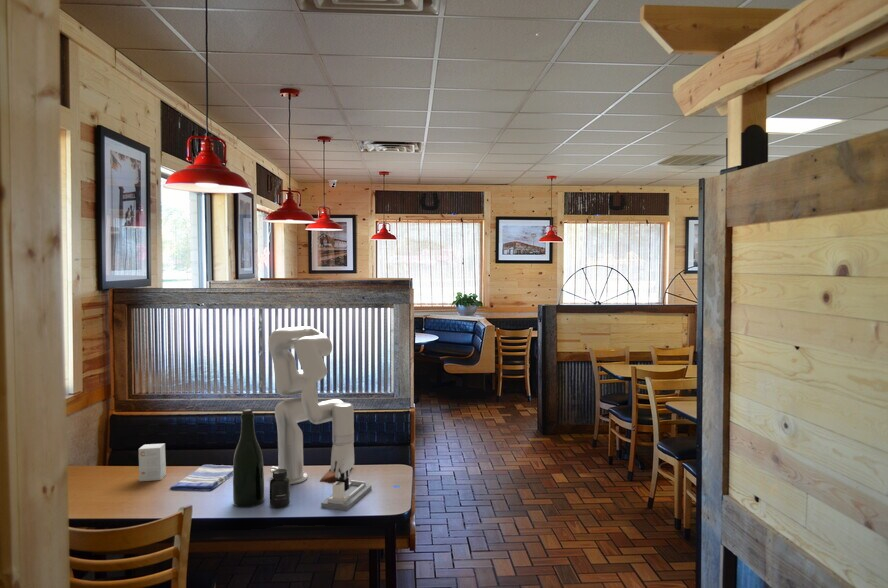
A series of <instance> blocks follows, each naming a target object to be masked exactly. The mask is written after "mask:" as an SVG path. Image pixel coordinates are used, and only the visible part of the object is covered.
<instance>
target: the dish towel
mask: <svg viewBox="0 0 888 588" xmlns="http://www.w3.org/2000/svg"><path fill="white" fill-rule="evenodd" d="M231 477H233V465H224V464H221V465H218V464H217V465H216V464H203V465H201V466H199V467H198V468H197V469H195V470H194V471H192V472H191V473H190V474H188V475H187V476H186V477H184V478H182V479H181V480H179V482H177V483H175V484H174V485H172V486H170V487H169V489H170V490H172V491H198V492H199V491H200V492H201V491H203V492H205V491H206V492H211V491H212V490H214V489H215V488H217V487H218V486H220V485H222V483H224V482H226V481H227V480H228V479H230V478H231Z"/></svg>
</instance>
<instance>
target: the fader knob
mask: <svg viewBox="0 0 888 588" xmlns="http://www.w3.org/2000/svg"><path fill="white" fill-rule="evenodd" d="M331 486H332V494H333V498H337V499H344V482H341V481H339V482H337V481H336V482H335V483H332V485H331Z"/></svg>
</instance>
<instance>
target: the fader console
mask: <svg viewBox="0 0 888 588" xmlns="http://www.w3.org/2000/svg"><path fill="white" fill-rule="evenodd" d="M349 480H350V481H349V489H348V490H347V491H344V499H337V498H333V493H332V494H331V495H330V496H328V497H326V499H324V500H322V501H321V503H320V507H321V508H323V507H324V508H323V509H333V510H340V511H341V510H342V511H349V510H350V509H351V508H352V507H353V506H354V505H356V503H358V502H359V501H360V500H361V499H363V498H364V497H365V496H366V495H367V494H369V492H370V491H371V490H372V485H371V484H366V481H362V480H353V479H349ZM366 493H367V494H366ZM365 494H366V495H365Z"/></svg>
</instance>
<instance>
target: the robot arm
mask: <svg viewBox="0 0 888 588" xmlns="http://www.w3.org/2000/svg"><path fill="white" fill-rule="evenodd" d="M268 349H269V350H268V351H269V353H270V355H271V359H272V362H273V369H274V370H273V371H274V379H275V380H274V381H275V387H276V388H275V389H276V392H277V394H278V395H280V396H281V397H290V396H294V395H295V396H296V395H300V396H298V397H294V398H288V399H284V400H282V401H280V402H277V404H276V406H275V408H274V416H275V422H276V428H277V453H278V455H277V458H278V459H277V460H278V463H277V464H278V466H277V465H276V466H274V465H272V466H271V469H270V473H271V474H273V471H274V470H277V469H286V470H287V476H286V477H288V478H289V479H290V485H295V484H300V483H302V482H304V481H306V480H307V479H308V474H307V472H305V471H304V433H303V430H302V429H301V428H300V425H298V423H301V422H306V421H309V422H310V423H312V424H314V425H320V424H323V423H327V422H328V423H329V422H332V425H331V426H332V438H331V439H332V447H331V453H330V454H331V456H330V468H331V472H335V471H336V472H335V477H337V478H338V479H339V481H341V482H344V491H347V490H348V489H349V483H350V481H349V480H350V479H349V478H350V471H351V469H352V468H353V466H355V447H354V443H355V427H354V426H355V425H354V424H355V418H354V417H355V415H354V414H355V413H354V412H355V411H354V405H353V403H350V402H345V401H343V400H341V399H340V398H332V399H328V400H322V401H319V395H318V394H319V393H318V387H317V383H318V382H319V381H321V380H323V379H324V378H325V377H326V376H327V374H328V369H327V366H326V363H325V361H324V359H323V357H327V356H329V355H330V354H331V353H332V351H333V345H332V341H331V340H330V338H329V337H328V336H327V335H326V334H324V333H323V332H321V331H320V330H318V329H316V328H314V327H312V326H307V325H304V326H302V325H301V326H289V327H282V328H277V329H275V330H273V331H272V332H271V333H270V336H269V337H268ZM293 349H294V350H295V354H296V356H297V359H298V362H299V365H300V368H301V369H297V368H298V367H297V361H296V358H295V356H294V354H293V353H292V352H291V351H290V350H293Z"/></svg>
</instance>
